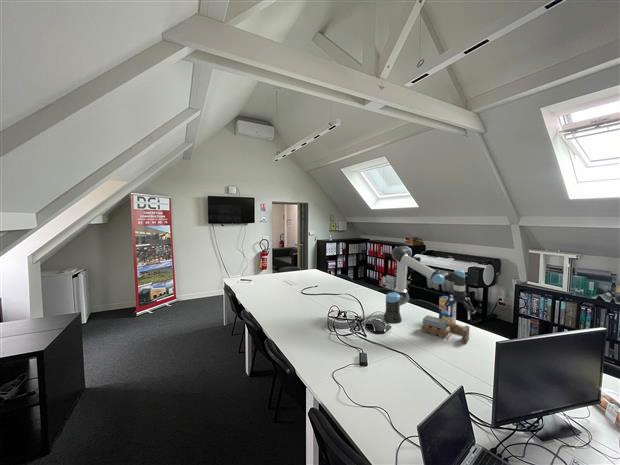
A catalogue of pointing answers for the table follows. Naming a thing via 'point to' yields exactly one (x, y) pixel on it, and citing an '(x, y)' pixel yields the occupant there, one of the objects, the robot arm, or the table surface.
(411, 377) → the table surface
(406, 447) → the table surface
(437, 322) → the slab
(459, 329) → the roller
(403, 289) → the robot arm
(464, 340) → the cradle and stop
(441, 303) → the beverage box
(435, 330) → the bed rollers
